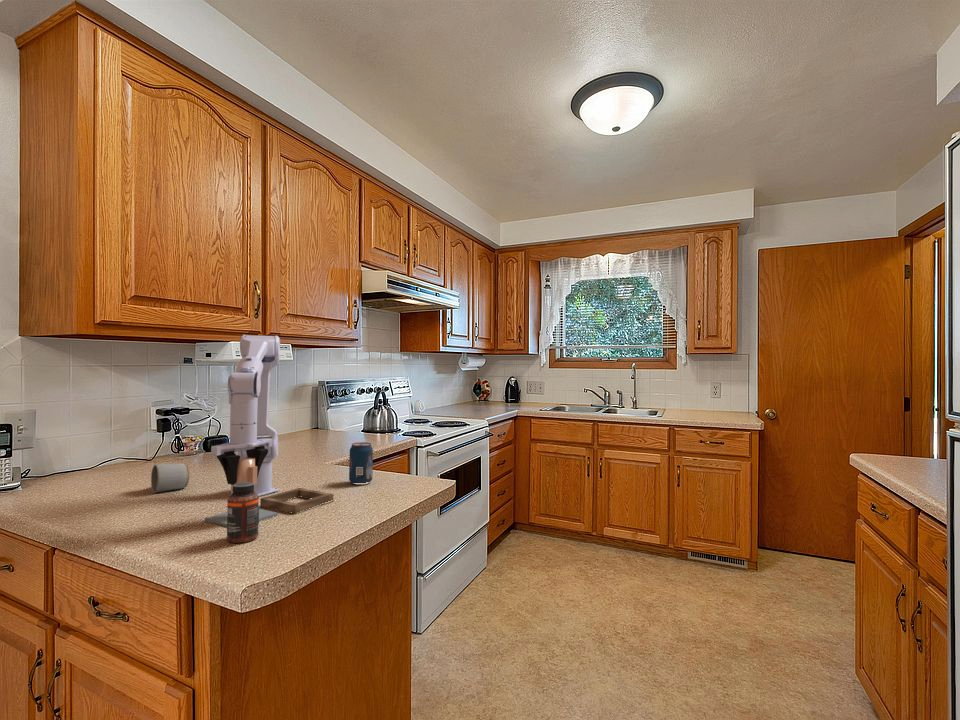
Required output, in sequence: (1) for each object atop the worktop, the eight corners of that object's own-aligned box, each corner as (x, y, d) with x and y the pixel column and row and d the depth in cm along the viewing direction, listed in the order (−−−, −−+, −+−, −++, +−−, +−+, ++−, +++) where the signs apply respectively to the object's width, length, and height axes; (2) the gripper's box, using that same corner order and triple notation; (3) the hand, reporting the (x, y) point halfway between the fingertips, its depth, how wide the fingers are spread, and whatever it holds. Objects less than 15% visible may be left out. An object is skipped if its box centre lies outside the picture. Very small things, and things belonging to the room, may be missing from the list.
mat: (204, 520, 110) (204, 518, 110) (247, 508, 120) (247, 506, 120) (235, 529, 105) (235, 526, 105) (277, 515, 115) (277, 512, 115)
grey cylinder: (190, 489, 137) (191, 462, 137) (156, 495, 131) (157, 466, 131) (179, 483, 144) (179, 458, 144) (146, 488, 138) (147, 461, 138)
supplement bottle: (263, 533, 102) (264, 480, 103) (251, 544, 97) (252, 487, 97) (235, 533, 102) (236, 480, 102) (220, 544, 96) (222, 487, 96)
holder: (260, 506, 122) (260, 498, 122) (299, 494, 133) (299, 487, 133) (295, 514, 116) (295, 505, 116) (333, 501, 127) (333, 493, 127)
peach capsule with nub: (225, 494, 111) (226, 459, 111) (245, 489, 116) (245, 456, 116) (245, 498, 108) (245, 462, 109) (263, 492, 113) (264, 458, 113)
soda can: (351, 480, 150) (351, 442, 150) (373, 480, 151) (374, 442, 151) (347, 486, 143) (347, 445, 143) (370, 485, 144) (371, 445, 144)
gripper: (225, 428, 104) (224, 490, 104) (281, 421, 117) (280, 477, 117) (205, 425, 108) (204, 486, 108) (261, 419, 121) (260, 474, 120)
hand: (242, 481), depth 113 cm, fingers closed on peach capsule with nub, 5 cm apart
